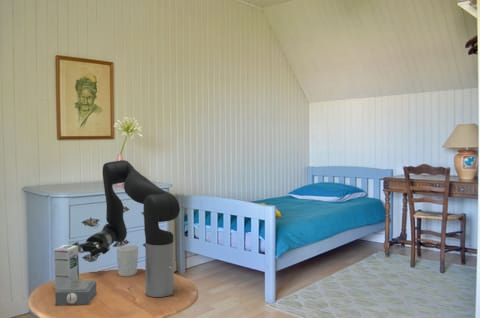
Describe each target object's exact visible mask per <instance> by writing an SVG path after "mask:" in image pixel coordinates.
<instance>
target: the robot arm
mask: <svg viewBox="0 0 480 318" xmlns="http://www.w3.org/2000/svg"><path fill="white" fill-rule="evenodd" d="M102 180H103V189H104V195H105V202H106V222H107V223H106V224H104V226H103V227H102V230H100V231H98V232H96V233H94V234H92V235H90V236H89V237H88V238H87V239H86V241H85V242H82V243H81V242H80V243H79V241H76V242H74V243H72V244H71V245H77V246H78V254H83V253H90V254H91V255H90V256H91V257H96V256H97V255H101V254H102V255H105V254H107V253H108V252H110V249H111V248H110V246H111V245H112V244H114V242H115V243H116V242H117V243H122V242H124V241H125V240H126V239H127V235H128V231H127V227H126V224H125V220H124V203H123V202H122V199H120V198H119V196H118V195H117V194H116V192H115V190H114V188H113V186H114V185H117V184H118V185H119V184H123V183H124V184H123V190H124V192H125V195H127V196H128V197H129V198H130V199H132V200H133V201H135V202H136V203H139V204H140V205H141V204H142V205H143V221H144V222H143V226H144V236H145V237H144V238H145V252H144V253H145V256H144V257H145V286H144V287H145V289H144V290H145V295H146V296H148V297H152V298H162V297H168V296H174V290H175V262H174V233H172V232H171V231H168V230H164V229H162V228H160V225H159V223H164V222H165V223H166V222H171V221H173V220H176V218H178V217H179V214H180V212H181V211H180V210H181V208H180V203H179V201H178V199H177V197H176V196H175V195H174V194H172V193H170V192H169V191H167V190H164V189H162V188H161V187H159V186H157V185H156V183H154V182H151V180H149V179H148V178H147V177H145V176H144V175H142V174H141V173H140V172H139V171H137V170H136V168H135V167H134V166H133V165H132V164H131V163H130V162H129V161H128V160H124V159H123V160H120V159H119V160H115V161H110V162H109V161H108V162H105V163H104V164H103V166H102Z"/></svg>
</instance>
